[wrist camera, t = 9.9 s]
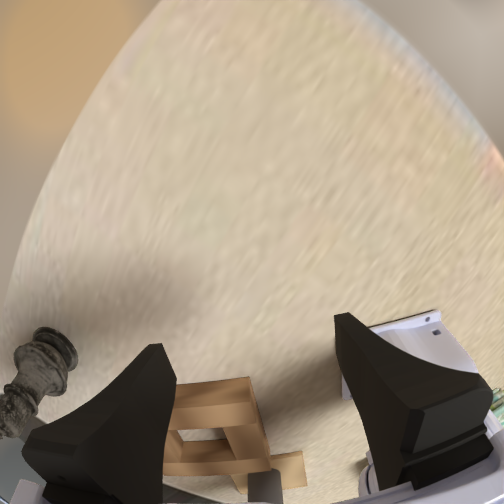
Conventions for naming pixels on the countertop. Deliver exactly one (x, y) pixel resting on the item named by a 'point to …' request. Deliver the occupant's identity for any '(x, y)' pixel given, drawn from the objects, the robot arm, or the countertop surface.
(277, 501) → the plug
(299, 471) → the coaster
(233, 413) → the wooden square frame
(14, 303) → the countertop surface
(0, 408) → the salt shaker
